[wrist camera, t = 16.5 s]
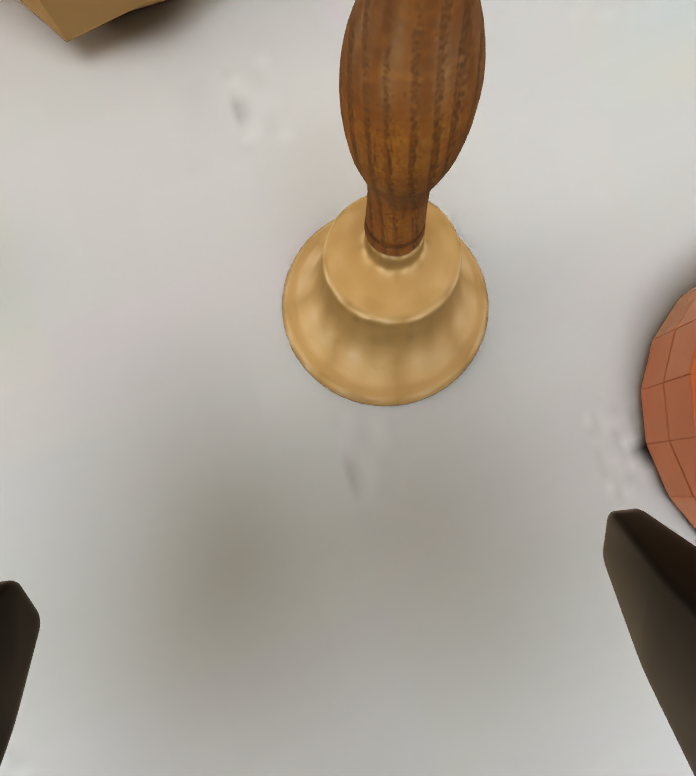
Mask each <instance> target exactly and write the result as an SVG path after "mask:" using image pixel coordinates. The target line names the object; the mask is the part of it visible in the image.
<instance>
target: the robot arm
mask: <svg viewBox="0 0 696 776" xmlns="http://www.w3.org/2000/svg"><path fill="white" fill-rule="evenodd" d="M603 556H604V562H605V566H606V569H607V572H608V574H609V577H610V580H611V583H612V585H613V588H614V591H615V594H616V597H617V599H618V602H619V605H620V608H621V610H622V613H623V616H624V619H625V622H626V624H627V627H628V630H629V633H630V635H631V638H632V641H633V644H634V647H635V649H636V652H637V655H638V657H639V660H640V662H641V665H642V667H643V670H644V672H645V674H646V676H647V678H648V681H649V683H650V685H651V687H652V689H653V691H654V693H655V695H656V697H657V699H658V701H659V704H660V706H661V708H662V710H663V712H664V714H665V716H666V718H667V720H668V722H669V724H670V726H671V728H672V730H673V732H674V734H675V736H676V739H677V741H678V743H679V745H680V747H681V749H682V751H683V753H684V755H685V757H686V759H687V761H688V763H689V765H690V767H691V769H692V771H693V774H694V776H696V546H694V545H693V544H691V543H690V542H688V541H687V540H685V539H684V538H682V537H681V536H679V535H678V534H676V533H675V532H673V531H672V530H671V529H669V528H668V527H666V526H665V525H663V524H662V523H660V522H659V521H657V520H656V519H654V518H653V517H651V516H650V515H648V514H647V513H646V512H644V511H642V510H639V509H628V510H620V511H613V512H611V513H610V514H609V516H608V519H607V526H606V533H605V540H604V548H603ZM39 629H40V617H39V613H38V611H37V610H36V608H35V607H34V605H33V604H32V602H31V601H30V599H29V598H28V596H27V595H26V593H25V592H24V590H23V588H22V587H21V586H20V584H19V583H17V582H15V581H2V582H0V765H1V762H2V760H3V757H4V754H5V751H6V749H7V746H8V743H9V740H10V737H11V734H12V731H13V728H14V724H15V721H16V717H17V714H18V710H19V706H20V702H21V699H22V695H23V691H24V687H25V683H26V679H27V676H28V672H29V668H30V664H31V660H32V656H33V652H34V649H35V645H36V641H37V637H38V633H39Z"/></svg>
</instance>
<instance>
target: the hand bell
mask: <svg viewBox="0 0 696 776" xmlns="http://www.w3.org/2000/svg"><path fill="white" fill-rule="evenodd" d="M485 57H486V56H485V30H484V18H483V12H482V7H481V2H480V0H356V1H355V3H354V6H353V9H352V11H351V14H350V17H349V19H348V23H347V27H346V31H345V35H344V40H343V45H342V51H341V59H340V73H339V93H340V107H341V115H342V121H343V126H344V132H345V136H346V139H347V143H348V146H349V150H350V153H351V156H352V158H353V161H354V164H355V165H356V167H357V169H358V171H359V172H360V174H361V175H362V177H363V179H364V180H365V182H366V183H367V189H368V192H367V196H365V197H363V198H361V199H359V200H357V201H355V202H354V203H352V204H351V205H349V206H348V207H347V208H346V209H344V210H343V211H342V212H341V214H340V215H339V216H338V217H337V218H336V219H335V220H333V221H331V222H330V223H328V224H327V225H325V226H324V227H322V228H321V229H320V230H318V231H317V232H316V233H315V234H314V235H313V236H312V237H311V238H310V239H309V240H308V241H307V242H306V243H305V244H304V245H303V247H302V248H301V249H300V251H299V252H298V254H297V255H296V257H295V259H294V261H293V263H292V265H291V267H290V269H289V272H288V274H287V278H286V281H285V285H284V291H283V298H282V310H283V321H284V327H285V331H286V334H287V337H288V339H289V342H290V345H291V347H292V350H293V352H294V353H295V355H296V357H297V358H298V359H299V361H300V362H301V364H302V365H303V366H304V368H305V369H306V370H307V371H308V372H309V373H310V374H311V375H312V376H313V377H314V378H315V379H316V380H317V381H318V382H319V383H321V384H322V385H323V386H325V387H326V388H328V389H329V390H331V391H332V392H334V393H336V394H338V395H340V396H342V397H344V398H347V399H350V400H352V401H355V402H359V403H364V404H369V405H376V406H394V405H403V404H408V403H412V402H416V401H419V400H422V399H425V398H427V397H429V396H431V395H434V394H435V393H437V392H439V391H441V390H442V389H444V388H446V387H447V386H448V385H450V384H451V383H452V382H453V381H454V380H456V379H457V378H458V377H459V376H460V375H461V373H462V372H463V371H464V370H465V369H466V368H467V366H468V365H469V364H470V363H471V361H472V360H473V358H474V356H475V355H476V353H477V351H478V349H479V347H480V345H481V342H482V340H483V337H484V334H485V330H486V326H487V320H488V296H487V290H486V284H485V280H484V277H483V274H482V272H481V269H480V267H479V265H478V263H477V261H476V259H475V257H474V256H473V254H472V253H471V251H470V250H469V248H468V247H467V246H466V245H465V243H464V242H463V241H462V240H461V239H460V238H459V237H458V236H457V233H456V231H455V229H454V227H453V225H452V223H451V222H450V220H449V219H448V218H447V216H446V215H445V214H444V213H443V212H442V211H441V210H440V209H439V208H438V207H436V206H435V205H434V204H432V203H431V202H429V201H428V198H429V192H430V191H431V189H432V188H433V187H434V186H435V185H437V184H438V182H439V181H440V180H441V179H442V178H443V177H444V175H445V174H446V173H447V172H448V171H449V169H450V168H451V166H452V165H453V163H454V162H455V160H456V158H457V157H458V155H459V153H460V151H461V149H462V147H463V145H464V143H465V140H466V138H467V135H468V133H469V131H470V128H471V126H472V123H473V119H474V116H475V113H476V109H477V106H478V102H479V99H480V95H481V90H482V86H483V80H484V71H485Z"/></svg>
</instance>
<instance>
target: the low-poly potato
mask: <svg viewBox="0 0 696 776" xmlns="http://www.w3.org/2000/svg"><path fill="white" fill-rule="evenodd" d="M20 1H21V2H22V3H24V4H25V5H26V6H27V7H28V8H29V9H30V10H31V11H33V12H34V13H35V14H36V15H37V16H38V17H39V18H41V19H42V20H43V21H44V22H45V23H46V24H47V25H48V26H50V27H51V28H52V29H53V30H54V31H55V32H56V33H58V34H59V35H60V36H61V37H62V38H63V39H64V40H65V41H67V42H68V41H70V40H72V39H74V38H76V37H78V36H80V35H82V34H84V33H86V32H88V31H90V30H92V29H94V28H96V27H98V26H100V25H102V24H104V23H106V22H108V21H110V20H112V19H114V18H116V17H119V16H121V15H123V14H125V13H127V12H129V11H133V10H136V9H139V8H143V7H146V6H149V5H153V4H156V3H159V2H163V1H166V0H20Z"/></svg>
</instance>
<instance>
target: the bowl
mask: <svg viewBox="0 0 696 776" xmlns="http://www.w3.org/2000/svg"><path fill="white" fill-rule="evenodd" d="M641 396H642V407H643V417H644V427H645V437H646V443H647V447H648V449H649V451H650V454H651V456H652V458H653V461H654V463H655V465H656V468H657V470H658V473H659V475H660V477H661V480H662V482H663V484H664V487H665V489H666V491H667V494H668V495H669V496H670V499H671V500H672V501H673V502H674V504H675V505H676V506H677V507H678V508H679V510H680V511H681V512H682V513H683V514H684V516H685V517H686V518H687V519H688V521H689V522H690V523H691V524H692V525H693V527H694V528H695V529H696V286H695V287H694V288H692V289H691V290H690V291H688V292H687V293H686V294H684V295H683V296H682V297H681V298H680V299H679V300H678V301H677V303H676V304H675V306H674V307H673V309H672V310H671V312H670V314H669V315H668V317H667V318H666V320H665V321H664V323H663V324H662V326H661V328H660V329H659V331H658V332H657V334H656V335H655V337H654V338H653V341H652V344H651V349H650V353H649V357H648V361H647V366H646V370H645V374H644V379H643V383H642V387H641Z"/></svg>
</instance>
